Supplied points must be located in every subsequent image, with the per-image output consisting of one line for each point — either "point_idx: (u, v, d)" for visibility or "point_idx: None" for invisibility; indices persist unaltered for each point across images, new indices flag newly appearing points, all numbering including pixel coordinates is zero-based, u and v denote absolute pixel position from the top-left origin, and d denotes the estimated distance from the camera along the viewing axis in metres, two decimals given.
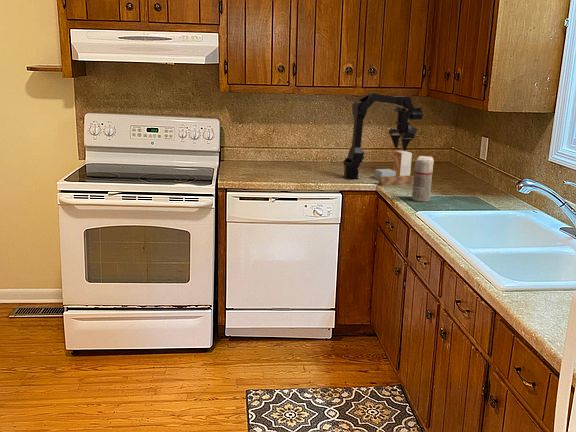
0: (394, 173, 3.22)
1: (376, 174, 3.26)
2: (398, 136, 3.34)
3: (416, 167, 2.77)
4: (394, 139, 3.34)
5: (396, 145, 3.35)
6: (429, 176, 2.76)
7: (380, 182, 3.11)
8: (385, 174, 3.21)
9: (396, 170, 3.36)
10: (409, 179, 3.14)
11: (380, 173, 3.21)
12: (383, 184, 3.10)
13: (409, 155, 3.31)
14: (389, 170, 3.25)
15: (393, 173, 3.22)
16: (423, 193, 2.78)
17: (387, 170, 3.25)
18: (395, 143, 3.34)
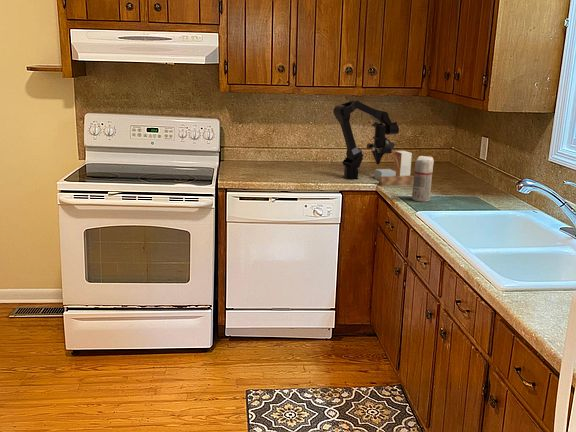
0: (394, 173, 3.22)
1: (376, 174, 3.26)
2: None
3: (416, 167, 2.77)
4: None
5: None
6: (429, 176, 2.76)
7: (380, 182, 3.11)
8: (385, 174, 3.21)
9: (396, 170, 3.36)
10: (409, 179, 3.14)
11: (380, 173, 3.22)
12: (383, 184, 3.10)
13: (409, 155, 3.31)
14: (389, 170, 3.25)
15: (393, 173, 3.22)
16: (423, 193, 2.78)
17: (387, 170, 3.25)
18: None
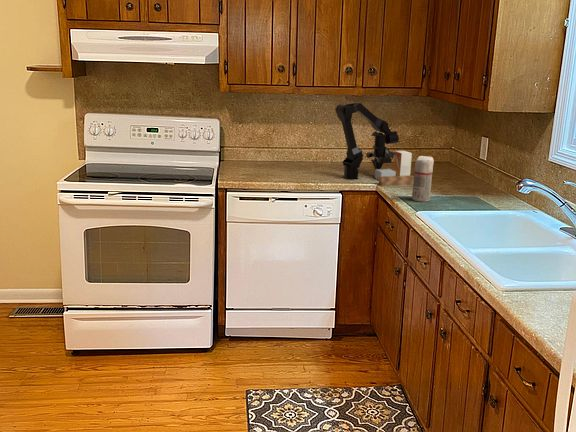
0: (394, 173, 3.22)
1: (376, 174, 3.26)
2: None
3: (416, 167, 2.77)
4: None
5: None
6: (429, 176, 2.76)
7: (380, 182, 3.11)
8: (385, 174, 3.21)
9: (396, 170, 3.36)
10: (409, 179, 3.14)
11: (380, 173, 3.22)
12: (383, 184, 3.10)
13: (409, 155, 3.31)
14: (389, 170, 3.25)
15: (393, 173, 3.22)
16: (423, 193, 2.78)
17: (387, 170, 3.25)
18: (376, 168, 3.33)
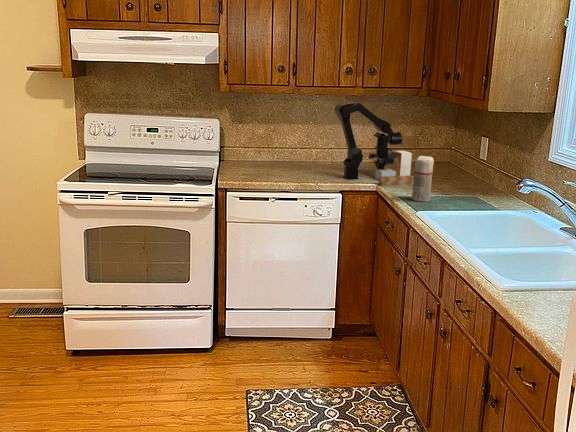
0: (394, 173, 3.22)
1: (376, 174, 3.26)
2: None
3: (416, 167, 2.77)
4: None
5: None
6: (429, 176, 2.76)
7: (380, 182, 3.11)
8: (385, 174, 3.21)
9: (396, 170, 3.36)
10: (409, 179, 3.14)
11: (380, 173, 3.21)
12: (383, 184, 3.10)
13: (409, 155, 3.31)
14: (389, 170, 3.25)
15: (393, 173, 3.22)
16: (423, 193, 2.78)
17: (387, 170, 3.25)
18: None
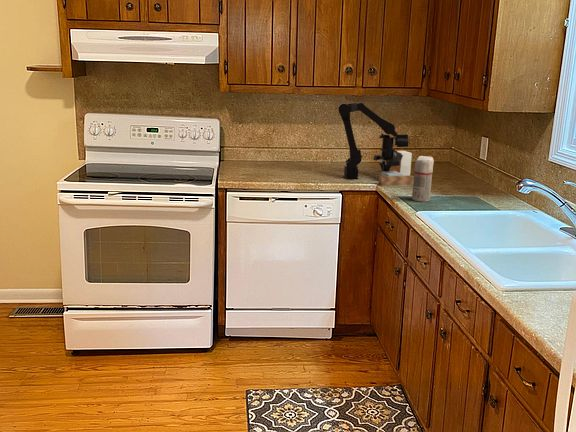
0: (401, 175, 3.17)
1: None
2: None
3: (416, 167, 2.77)
4: None
5: None
6: (429, 176, 2.76)
7: (380, 182, 3.11)
8: None
9: (396, 170, 3.36)
10: (409, 179, 3.14)
11: (387, 175, 3.16)
12: (383, 184, 3.10)
13: (409, 155, 3.31)
14: (395, 172, 3.20)
15: (400, 175, 3.17)
16: (423, 193, 2.78)
17: (393, 172, 3.19)
18: None
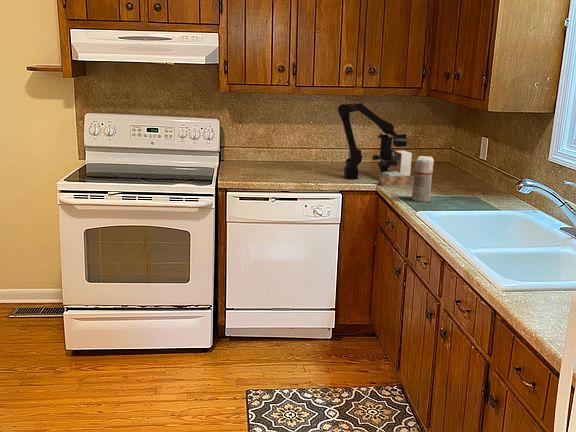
0: None
1: None
2: None
3: (416, 167, 2.77)
4: None
5: None
6: (429, 176, 2.76)
7: (380, 182, 3.11)
8: None
9: (396, 170, 3.36)
10: (409, 179, 3.14)
11: None
12: (383, 184, 3.10)
13: (409, 155, 3.31)
14: (397, 172, 3.19)
15: (401, 175, 3.16)
16: (423, 193, 2.78)
17: (395, 173, 3.19)
18: None
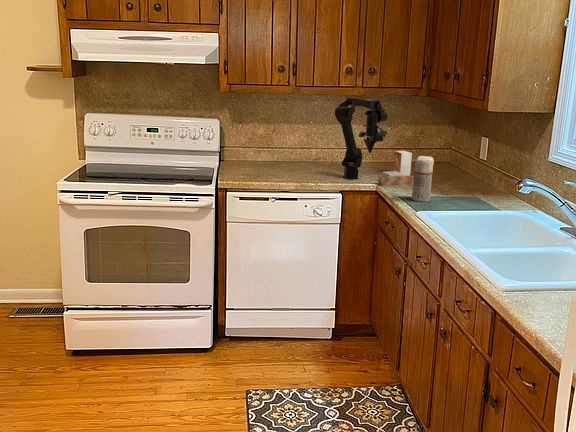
0: None
1: None
2: None
3: (416, 167, 2.77)
4: None
5: None
6: (429, 176, 2.76)
7: (380, 182, 3.11)
8: None
9: (396, 170, 3.36)
10: (409, 179, 3.14)
11: None
12: (383, 184, 3.10)
13: (409, 155, 3.31)
14: (397, 172, 3.19)
15: (401, 175, 3.16)
16: (423, 193, 2.78)
17: (395, 172, 3.19)
18: None
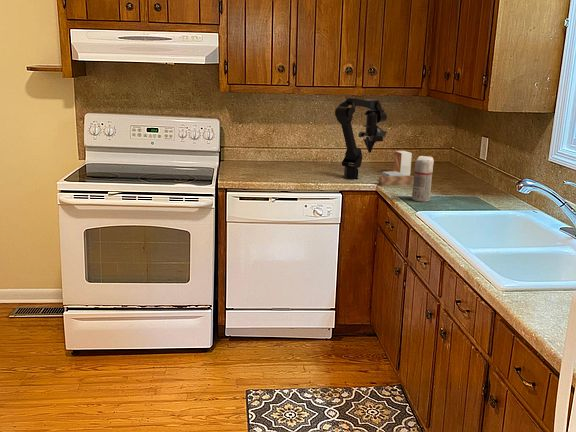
0: None
1: None
2: None
3: (416, 167, 2.77)
4: None
5: None
6: (429, 176, 2.76)
7: (380, 182, 3.11)
8: None
9: (396, 170, 3.36)
10: (409, 179, 3.14)
11: None
12: (383, 184, 3.10)
13: (409, 155, 3.31)
14: (397, 172, 3.19)
15: (401, 175, 3.16)
16: (423, 193, 2.78)
17: (394, 172, 3.19)
18: None
